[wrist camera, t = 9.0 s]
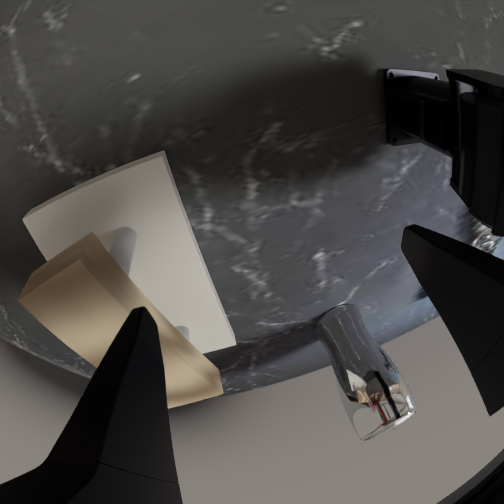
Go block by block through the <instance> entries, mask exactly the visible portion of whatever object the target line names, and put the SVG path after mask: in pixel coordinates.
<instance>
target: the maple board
mask: <svg viewBox="0 0 504 504" xmlns="http://www.w3.org/2000/svg"><path fill="white" fill-rule="evenodd" d="M18 301H19V302H20V303H21V304H22V305H23V306H24V307H25V308H26V309H27V310H28V311H29V312H30V313H31V314H32V315H33V316H34V317H35V318H36V319H37V320H38V321H40V322H41V323H42V324H43V325H44V326H45V327H46V328H47V329H48V330H50V331H51V332H52V333H53V334H54V335H55V336H57V337H58V338H59V339H60V340H61V341H63V342H64V343H65V344H66V345H67V346H69V347H70V348H71V349H72V350H74V351H75V352H76V353H78V354H79V355H80V356H81V357H83V358H84V359H85V360H87V361H88V362H90V363H91V364H92V365H94V366H95V367H98V366H99V364H100V362H101V360H102V359H103V357H104V355H105V353H106V352H107V350H108V348H109V347H110V345H111V343H112V341H113V340H114V338H115V336H116V335H117V333H118V331H119V330H120V328H121V327H122V325H123V323H124V322H125V320H126V318H127V317H128V315H129V314H130V312H131V311H132V309H134V308H137V307H141V306H145V307H146V308H147V309H148V311H149V312H150V314H151V315H152V317H153V318H154V320H155V321H156V323H157V326H158V331H159V338H160V345H161V351H162V357H163V362H164V369H165V381H166V394H167V405H168V408H172V407H176V406H181V405H185V404H189V403H192V402H196V401H200V400H203V399H207V398H211V397H214V396H217V395H221V394H223V390H222V384H221V379H220V373H219V369H218V368H217V367H216V366H215V365H213V364H212V363H211V362H210V361H209V360H208V359H207V358H206V357H205V356H204V355H203V354H202V353H201V352H199V351H198V350H197V349H196V348H195V347H194V346H193V345H192V344H191V343H190V342H189V341H188V340H187V339H186V338H185V337H184V336H183V335H182V334H181V333H180V332H179V331H178V330H177V329H176V328H175V327H174V326H173V325H172V324H171V323H170V322H169V321H168V320H167V319H166V318H165V317H164V316H163V314H162V313H161V312H160V311H159V310H158V309H157V308H156V307H155V306H154V305H153V304H152V303H151V302H150V300H149V299H148V298H147V297H146V296H145V295H144V294H143V293H142V292H141V290H140V289H139V288H138V287H137V286H136V285H135V284H134V282H133V281H132V280H131V279H130V278H129V277H128V275H127V274H126V273H125V272H124V271H123V270H122V268H121V267H120V266H119V265H118V263H117V262H116V261H115V260H114V259H113V257H112V256H111V255H110V254H109V252H108V251H107V250H106V249H105V247H104V246H103V245H102V243H101V242H100V241H99V239H98V238H97V237H96V236H95V234H94V233H93V232H91V233H89V234H88V235H86V236H84V237H83V238H81V239H80V240H78V241H77V242H75V243H74V244H72V245H71V246H69V247H68V248H66V249H65V250H63V251H62V252H60V253H59V254H57V255H56V256H55V257H53V258H52V259H50V260H49V261H48V262H46V263H45V264H43V265H42V266H41V267H39V268H38V269H37V270H35V271H34V272H32V273H31V275H30V277H29V279H28V281H27V283H26V285H25V287H24V289H23V291H22V293H21V295H20V297H19V299H18Z"/></svg>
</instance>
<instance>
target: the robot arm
mask: <svg viewBox="0 0 504 504" xmlns="http://www.w3.org/2000/svg"><path fill="white" fill-rule="evenodd" d="M389 73H390V74H391V76H390V77H389ZM446 74H447V77H448V79H449V82H446V81H441V80H440V79H439V76H438V74H436V73H429V72H421V71H411V70H398V69H386V70H384V74H383V75H384V86H385V99H386V117H387V142H388V143H389V144H390V145H392V146H397V145H405V144H413V143H423V144H425V145H427V146H429V147H431V148H433V149H435V150H437V151H439V152H441V153H443V154H445V155H447V156H449V157H451V158H452V177H451V178H450V186H451V187H452V188H453V189H454V191H455V192H456V193H457V194H458V195H459V197H460V198H461V199H462V200H463V202H464V203H465V204H466V206H467V207H468V208H469V213H470V214H471V215H472V216H473V217H474V218H476V219H477V220H478V221H479V222H481V223H482V224H483V225H485V226H487V227H488V228H491V229H492V231H491V233H492V234H493V235H496V236H502V237H504V76H503V75H499V74H495V73H491V72H487V71H482V70H468V69H446ZM434 78H435V79H434ZM393 138H394V140H393V141H392V139H393ZM401 249H402V252H403V254H404V255H405V257H406V259H407V261H408V262H409V264H410V266H411V268H412V270H413V271H414V273H415V275H416V277H417V279H418V281H419V282H420V284H421V286H422V287H423V289H424V291H425V292H426V294H427V295H428V297H429V298H430V300H431V302H432V303H433V305H434V306H435V308H436V310H437V311H438V313H439V315H440V316H441V318H442V320H443V321H444V323H445V325H446V327H447V328H448V330H449V332H450V334H451V335H452V337H453V339H454V341H455V343H456V345H457V347H458V348H459V350H460V352H461V354H462V356H463V358H464V360H465V362H466V364H467V366H468V368H469V370H470V372H471V375H472V377H473V379H474V381H475V383H476V385H477V388H478V390H479V392H480V395H481V397H482V399H483V402H484V404H485V407H486V409H487V412H488V414H489V415H490V416H491V415H493V414H494V413H496V412H497V411H498V410H500V409H501V408H502V407H504V260H502V259H500V258H498V257H495V256H493V255H491V254H489V253H487V252H484V251H482V250H480V249H477V248H475V247H473V246H470V245H468V244H465V243H463V242H460V241H458V240H455V239H453V238H450V237H448V236H445V235H443V234H440V233H437V232H435V231H432V230H429V229H426V228H424V227H421V226H418V225H415V224H413V225H409V226H407V227H405V228H404V231H403V237H402V243H401ZM83 395H84V396H82V397H81V399H80V401H79V403H78V405H77V407H76V408H75V410H74V412H73V414H72V416H71V418H70V419H69V421H68V423H67V424H66V426H65V428H64V430H63V431H62V433H61V435H60V436H59V438H58V440H57V441H56V443H55V445H54V447H53V449H52V450H51V452H50V454H49V455H48V457H47V458H46V460H45V461H44V462H43V463H42V464H41V465H40V466H38V467H37V468H35V469H33V470H31V471H29V472H27V473H25V474H23V475H20V476H18V477H16V478H14V479H12V480H9V481H7V482H5V483H3V484H0V504H183V502H182V498H181V492H180V487H179V484H178V477H177V472H176V466H175V460H174V454H173V447H172V439H171V432H170V424H169V414H168V405H167V394H166V381H165V369H164V362H163V357H162V351H161V345H160V338H159V331H158V326H157V323H156V321H155V320H154V318H153V317H152V315H151V314H150V312H149V311H148V309H147V308H146V307H145V306H141V307H137V308H134V309H132V311H131V312H130V314H129V315H128V317H127V318H126V320H125V322H124V323H123V325H122V327H121V328H120V330H119V331H118V333H117V335H116V336H115V338H114V340H113V341H112V343H111V345H110V347H109V348H108V350H107V352H106V353H105V355H104V357H103V359H102V360H101V362H100V364H99V366H98V367H97V369H96V371H95V373H94V375H93V376H92V378H91V380H90V382H89V384H88V386H87V388H86V389H85V391H84V393H83ZM437 504H504V449H503V450H502V451H501V452H500V453H499V454H498V455H497V456H496V457H495V458H494V459H493V460H492V461H491V462H490V463H488V464H487V465H486V466H485V467H484V468H483V469H482V470H480V471H479V472H478V473H477V474H476V475H475V476H473V477H472V478H471V479H470V480H468V481H467V482H466V483H465V484H463V485H462V486H461V487H459V488H458V489H457V490H456V491H454V492H453V493H451V494H450V495H449V496H447V497H446V498H444V499H443V500H441V501H440V502H438V503H437Z"/></svg>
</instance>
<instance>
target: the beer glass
mask: <svg viewBox="0 0 504 504" xmlns="http://www.w3.org/2000/svg"><path fill="white" fill-rule="evenodd" d="M314 331H315V334H316V336H317V338H318V339H319V340H320V342H321V343H322V344H323V346H324V347H325V349H326V350H327V352H328V354H329V357H330V359H331V363H332V366H333V370H334V375H335V379H336V383H337V388H338V391H339V395H340V398H341V401H342V404H343V406H344V409H345V411H346V414H347V416H348V418H349V420H350V422H351V424H352V425H353V427H354V429H355V431H356V433H357V434H358V436H359V438H360V440H361V442H365V441H369V440H372V439H374V438H376V437H379V436H381V435H383V434H385V433H387V432H389V431H390V430H392V429H394V428H396V427H397V426H399V425H401V424H402V423H404V422H405V421H407V420H408V419H410V418H411V417H412V416H414V415H415V414H416V413H417V412H418V411H419V409H418V407H417V405H416V402H415V400H414V397H413V395H412V393H411V390H410V388H409V386H408V384H407V382H406V380H405V378H404V376H403V375H402V373H401V372H400V370H399V368H398V367H397V366H396V364H395V363H394V362H393V361H392V359H391V358H390V357H389V356H388V355H387V354H386V352H385V351H384V350H383V349H382V348H381V347H380V346H379V345H378V343H377V342H376V341H375V340H374V339H373V338H372V336H371V335H370V333H369V332H368V330H367V329H366V327H365V324H364V322H363V319H362V316H361V314H360V311H359V309H358V308H357V307H356V306H354V305H350V304H346V305H341V306H338V307H335V308H333V309H331V310H330V311H328V312H327V313H325V314H324V315H323V316H322V317H321V318H320V319H319V320H318V322H317V323H316V325H315V328H314Z"/></svg>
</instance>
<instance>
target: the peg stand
mask: <svg viewBox="0 0 504 504" xmlns="http://www.w3.org/2000/svg"><path fill="white" fill-rule="evenodd" d="M22 220H23V222H24V224H25V226H26V227H27V229H28V231H29V233H30V234H31V236H32V238H33V240H34V241H35V243H36V245H37V246H38V248H39V249H40V251H41V253H42V254H43V256H44V257H45V259H46V260H47V262H48V261H49V260H50V259H52V258H53V257H55V256H56V255H57V254H59V253H60V252H62V251H63V250H65V249H66V248H68V247H69V246H71V245H72V244H74V243H75V242H77V241H78V240H80V239H81V238H83V237H84V236H86V235H88V234H89V233H91V232H93V233H94V234H95V236H96V237H97V238H98V239H99V241H100V242H101V243H102V245H103V246H104V247H105V249H106V250H107V251H108V252H109V254H110V255H111V256H112V257H113V259H114V260H115V261H116V262H117V263H118V265H119V266H120V267H121V268H122V270H123V271H124V272H125V273H126V274H127V275H128V277H129V278H130V279H131V280H132V281H133V282H134V284H135V285H136V286H137V287H138V288H139V289H140V290H141V292H142V293H143V294H144V295H145V296H146V297H147V298H148V299H149V300H150V302H151V303H152V304H153V305H154V306H155V307H156V308H157V309H158V310H159V311H160V312H161V313H162V314H163V316H164V317H165V318H166V319H167V320H168V321H169V322H170V323H171V324H172V325H173V326H174V327H175V328H176V329H177V330H178V331H179V332H180V333H181V334H182V335H183V336H184V337H185V338H186V339H187V340H188V341H189V342H190V343H191V344H192V345H193V346H194V347H195V348H196V349H197V350H198V351H199V352H201V353H202V354H203V353H207V352H211V351H215V350H219V349H223V348H227V347H230V346H234V345H236V341H235V336H234V333H233V330H232V328H231V326H230V323H229V321H228V319H227V316H226V314H225V312H224V309H223V307H222V304H221V302H220V300H219V297H218V295H217V292H216V290H215V287H214V285H213V282H212V280H211V277H210V275H209V272H208V270H207V267H206V265H205V262H204V260H203V257H202V255H201V252H200V249H199V247H198V244H197V242H196V239H195V236H194V234H193V231H192V228H191V226H190V223H189V220H188V217H187V215H186V212H185V209H184V206H183V204H182V201H181V198H180V195H179V192H178V189H177V187H176V184H175V181H174V178H173V175H172V172H171V169H170V166H169V163H168V160H167V157H166V154H165V151H164V150H163V151H160V152H157V153H155V154H152V155H149V156H146V157H143V158H141V159H138V160H135V161H133V162H130V163H128V164H125V165H123V166H120V167H118V168H115V169H113V170H110V171H108V172H106V173H103V174H101V175H99V176H96V177H94V178H92V179H90V180H88V181H85V182H83V183H81V184H79V185H77V186H75V187H73V188H71V189H69V190H67V191H65V192H63V193H61V194H59V195H57V196H55V197H53V198H51V199H49V200H47V201H45V202H43V203H42V204H40V205H38V206H36V207H34V208H33V209H31V210H30V211H29V212H28V213H27V214H26V215H25V216H24V218H23V219H22Z"/></svg>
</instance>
